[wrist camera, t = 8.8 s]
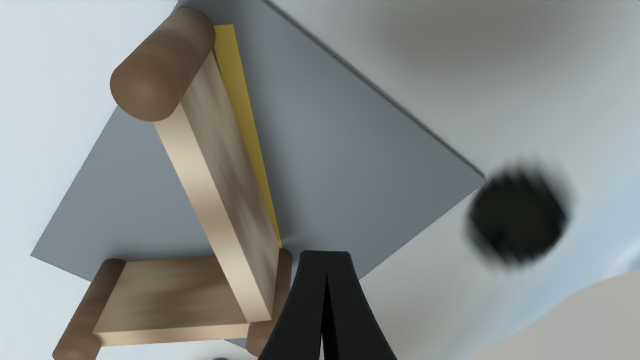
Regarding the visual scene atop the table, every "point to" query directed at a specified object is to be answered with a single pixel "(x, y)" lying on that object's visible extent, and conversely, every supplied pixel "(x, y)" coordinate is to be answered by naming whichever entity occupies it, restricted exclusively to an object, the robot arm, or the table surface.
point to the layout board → (266, 161)
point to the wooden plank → (204, 150)
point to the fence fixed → (166, 306)
